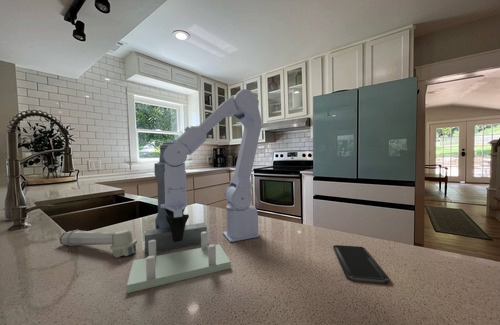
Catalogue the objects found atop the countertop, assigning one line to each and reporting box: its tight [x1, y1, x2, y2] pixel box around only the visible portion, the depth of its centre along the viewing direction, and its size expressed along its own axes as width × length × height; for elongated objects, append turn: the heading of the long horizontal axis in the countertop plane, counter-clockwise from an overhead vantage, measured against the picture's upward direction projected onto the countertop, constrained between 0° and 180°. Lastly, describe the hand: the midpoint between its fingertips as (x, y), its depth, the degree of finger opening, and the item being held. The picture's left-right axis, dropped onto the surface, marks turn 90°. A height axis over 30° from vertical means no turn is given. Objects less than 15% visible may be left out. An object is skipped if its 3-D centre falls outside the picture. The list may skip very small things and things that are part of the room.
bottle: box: [153, 141, 185, 229], centre depth 72 cm, size 10×10×30 cm
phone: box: [333, 244, 390, 285], centre depth 48 cm, size 8×1×15 cm
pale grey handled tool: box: [59, 229, 138, 258], centre depth 57 cm, size 5×7×25 cm
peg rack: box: [126, 231, 232, 294], centre depth 47 cm, size 20×10×6 cm, turn 113°
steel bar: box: [144, 222, 208, 254], centre depth 59 cm, size 16×4×5 cm, turn 112°
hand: (176, 235), depth 59 cm, fingers open, 7 cm apart
